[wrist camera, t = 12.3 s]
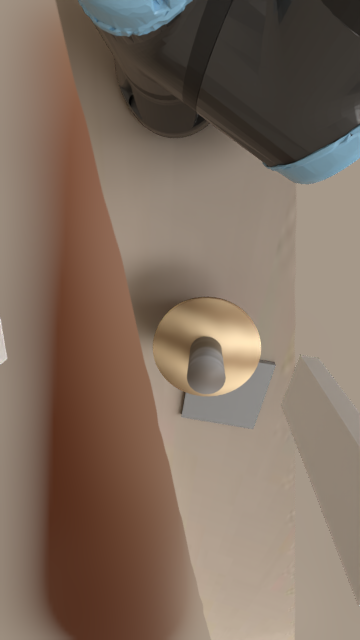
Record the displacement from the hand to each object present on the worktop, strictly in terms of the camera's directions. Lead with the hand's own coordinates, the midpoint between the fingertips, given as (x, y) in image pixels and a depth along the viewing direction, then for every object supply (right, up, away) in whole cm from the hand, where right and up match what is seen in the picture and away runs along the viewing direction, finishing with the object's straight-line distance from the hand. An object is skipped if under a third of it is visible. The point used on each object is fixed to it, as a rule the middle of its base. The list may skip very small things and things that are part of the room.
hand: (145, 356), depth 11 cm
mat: (+11, -13, +43) cm, 46 cm away
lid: (+5, -2, +26) cm, 26 cm away
